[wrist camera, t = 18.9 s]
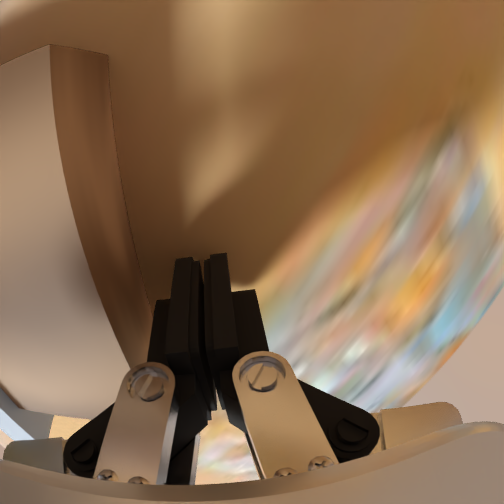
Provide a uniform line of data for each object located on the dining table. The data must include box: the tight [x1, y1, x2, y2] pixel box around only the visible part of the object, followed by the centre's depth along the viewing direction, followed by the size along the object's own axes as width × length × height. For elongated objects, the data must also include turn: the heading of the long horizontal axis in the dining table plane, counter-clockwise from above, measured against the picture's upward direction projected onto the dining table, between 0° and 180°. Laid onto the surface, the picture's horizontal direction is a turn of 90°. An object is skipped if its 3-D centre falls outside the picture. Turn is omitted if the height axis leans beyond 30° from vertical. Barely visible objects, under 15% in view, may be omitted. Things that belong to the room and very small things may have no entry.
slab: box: [0, 44, 153, 420], centre depth 8 cm, size 12×7×4 cm, turn 1°
